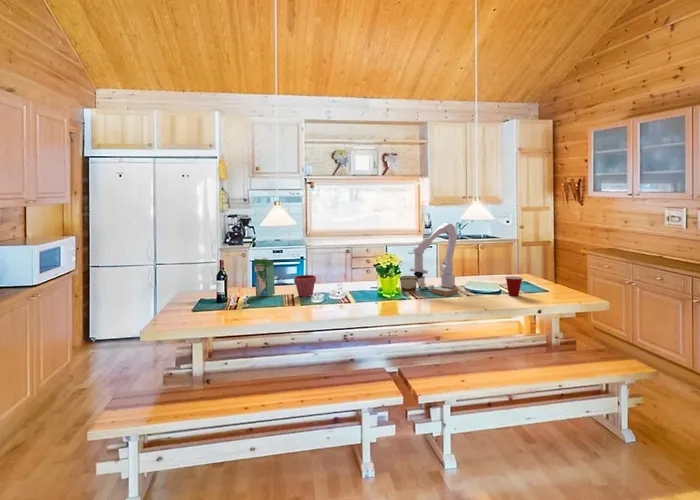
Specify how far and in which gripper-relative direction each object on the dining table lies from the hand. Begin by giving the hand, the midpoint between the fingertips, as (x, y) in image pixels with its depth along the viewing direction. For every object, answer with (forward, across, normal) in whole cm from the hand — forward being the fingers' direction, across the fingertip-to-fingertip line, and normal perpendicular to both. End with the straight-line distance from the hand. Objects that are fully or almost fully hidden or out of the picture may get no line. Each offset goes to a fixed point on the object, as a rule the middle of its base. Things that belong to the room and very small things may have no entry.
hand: (418, 282), depth 332 cm
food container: (+4, +2, -12) cm, 13 cm away
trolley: (+3, +7, 0) cm, 7 cm away
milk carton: (+4, -58, -87) cm, 105 cm away
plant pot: (+4, -37, -69) cm, 79 cm away
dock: (+4, +18, 0) cm, 19 cm away
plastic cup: (+4, +57, +25) cm, 63 cm away
